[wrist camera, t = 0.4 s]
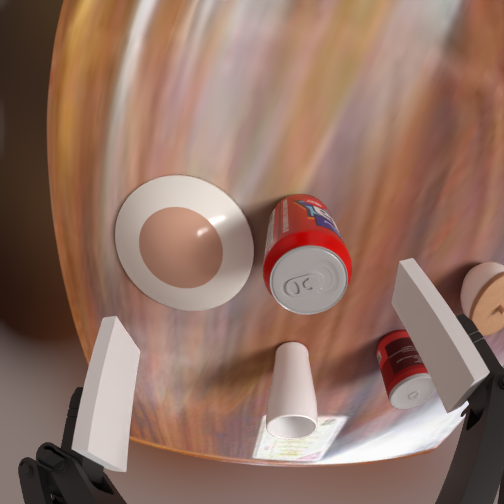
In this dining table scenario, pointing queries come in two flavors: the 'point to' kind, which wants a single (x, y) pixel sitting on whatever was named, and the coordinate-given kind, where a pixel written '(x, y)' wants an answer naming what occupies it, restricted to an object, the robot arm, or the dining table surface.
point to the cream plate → (184, 242)
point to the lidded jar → (484, 297)
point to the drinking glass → (291, 394)
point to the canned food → (403, 371)
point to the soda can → (305, 256)
